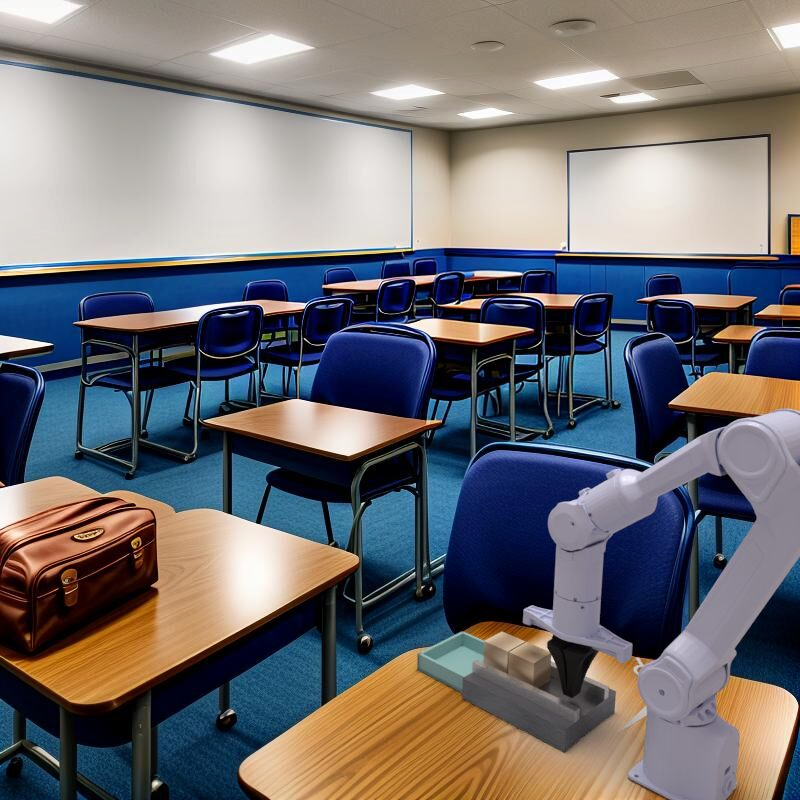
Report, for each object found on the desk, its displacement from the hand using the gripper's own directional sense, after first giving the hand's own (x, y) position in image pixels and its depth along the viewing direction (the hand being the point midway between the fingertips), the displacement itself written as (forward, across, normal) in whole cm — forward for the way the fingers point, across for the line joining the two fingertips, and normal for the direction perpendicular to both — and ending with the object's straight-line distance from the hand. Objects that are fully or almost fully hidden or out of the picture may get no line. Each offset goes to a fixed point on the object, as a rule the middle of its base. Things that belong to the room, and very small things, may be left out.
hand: (571, 693), depth 95 cm
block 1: (+1, +11, 0) cm, 11 cm away
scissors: (+5, -6, -12) cm, 14 cm away
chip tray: (+4, +18, 0) cm, 18 cm away
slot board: (+4, +5, 0) cm, 6 cm away
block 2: (+1, +6, 0) cm, 7 cm away
